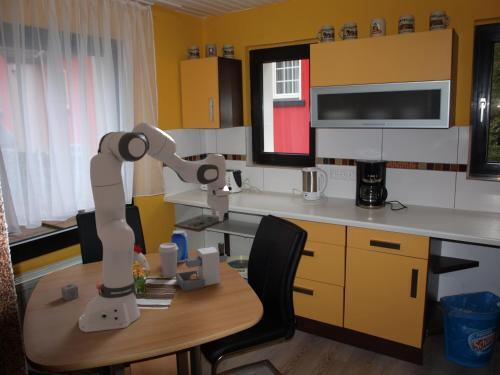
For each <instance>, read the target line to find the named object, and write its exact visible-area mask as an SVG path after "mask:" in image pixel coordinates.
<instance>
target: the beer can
mask: <svg viewBox="0 0 500 375" xmlns="http://www.w3.org/2000/svg"><path fill="white" fill-rule="evenodd" d="M170 239H171V243H175V244H176V245H177V247H178V250H177V263H180V264H181V263H184V262H185V263H186V259H187V258H189V248H188V247H189V245H188V234H187V233H186V230H184V229H176V230H175V229H174V230H173V231H172V234H171V238H170Z"/></svg>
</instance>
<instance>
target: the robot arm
mask: <svg viewBox="0 0 500 375" xmlns="http://www.w3.org/2000/svg"><path fill="white" fill-rule="evenodd" d="M176 151H177V142H176V141H175V140H174V139H173V138H172V136H170V135H169V134H167V133H166V132H165V131H164V130H162V129H160V128H158V127H156V126H154V125H152V124H150V123H147V122H140V123H138V124H136V125H135V126H134V127H133V128H132V129H131V131H122V130H121V131H119V130H118V131H111V132H108V133H104V135H103V136H102V137H101V138H100V140H99V143H98V149H97V154H95V155H94V156H92V157H91V158H90V163H89V179H90V186H91V191H92V192H91V193H92V198H93V204H94V213H95V225H96V233H97V237H98V238H99V240H100V241H101V243H102V264H101V265H102V266H101V267H102V268H101V269H102V279H103V283H102V282H98V283H96V285H95V286H96V289H97V290H98V294H97V295H96V296H94V298H92V299H91V300H89V302H88V303H87V304H86V305H85V308H84V313H83V314H81V315H80V317H79V319H78V327H79V330H80V331H81V332H84V333H91V332H100V331H107V330H115V329H125V328H127V327H128V326H130V324H132V323H133V322H135V321H137V320H138V319H139V318H140V316H141V312H140V309H139V306H138V303H137V298H136V293H137V290H136V288H137V287H136V280H135V279H134V278H133V251H134V245H135V243H136V239H135V233H134V231H133V229H132V227H131V226H130V225H129V224H128V222H127V219H126V203H127V200H126V194H125V187H124V181H123V175H122V166H123V164H124V162H125V163H126V162H127V163H128V162H130V163H132V162H133V163H134V162H138V161H140V160H141V159H143V158H144V157H145V155H147V156H149V157H151V158H153V159H155V161H158V162H160V163H162V164H164V165H166V167H168V168H169V169H171V170H172V171H174V173H175V174H176V175H177V177H178V178H179V180H180V181H182V182H183V183H187V184H189V183H190V184H196V185H202V186H203V185H206V191H207V192H206V199H207V200H206V203H207V206H208V207H209V208H210V212H211V216H212V217H217V212H218V214H219V215H218V221H219V222H223V221H224V216H225V214H227V213H228V212H229V208H230V205H229V204H230V200H229V198H230V197H229V196H230V194H231V193H230V192H231V191H230V190H229V187H228V186H227V179H226V175H227V163H226V158H225V156H224V155H223V154H219V153H209V154H207V156H206V157H205V158H204V159H203V160H201V161H192V160H186V159H182V157H180V156H179V155H178V154H176ZM216 211H217V212H216Z"/></svg>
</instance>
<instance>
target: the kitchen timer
mask: <svg viewBox="0 0 500 375" xmlns="http://www.w3.org/2000/svg"><path fill="white" fill-rule="evenodd" d="M142 250H143V247H141V248H140V244H139V245H136V244H134V251H133V264H134V263H135V261H138V262H139V263H141V265H142V267H143V268H146V269H147V270H148V271H149V272H150V273H151V271H150V270H151V269H150V265H149V262H148V259H146V256H145V255H144V254H143V253H142Z"/></svg>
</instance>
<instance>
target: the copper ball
mask: <svg viewBox="0 0 500 375" xmlns="http://www.w3.org/2000/svg"><path fill="white" fill-rule="evenodd" d="M189 279H190V281H195V280H198V274H197V275H196V274H192V275H191V276H190V278H189Z"/></svg>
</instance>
